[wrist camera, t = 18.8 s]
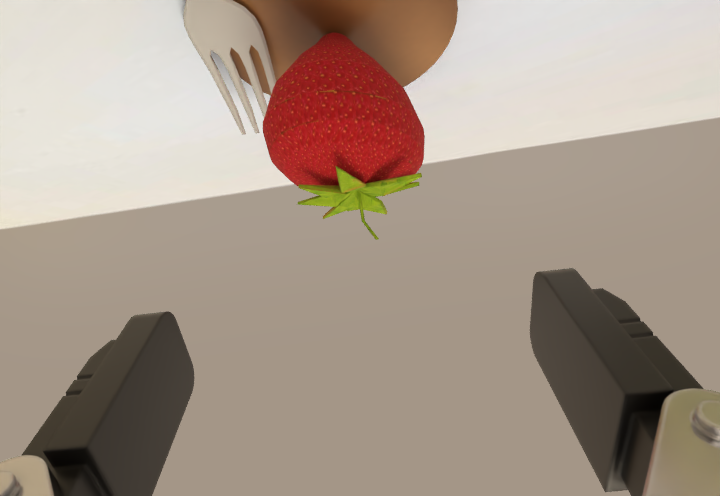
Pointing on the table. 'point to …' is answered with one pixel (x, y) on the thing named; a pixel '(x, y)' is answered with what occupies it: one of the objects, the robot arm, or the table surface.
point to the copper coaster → (353, 32)
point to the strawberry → (343, 128)
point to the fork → (229, 48)
